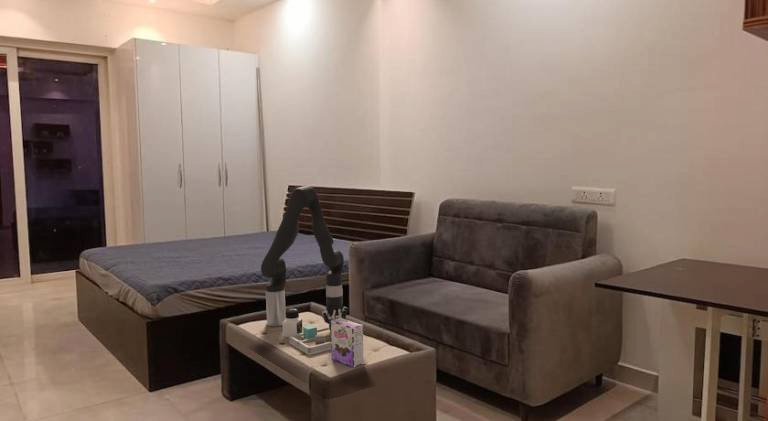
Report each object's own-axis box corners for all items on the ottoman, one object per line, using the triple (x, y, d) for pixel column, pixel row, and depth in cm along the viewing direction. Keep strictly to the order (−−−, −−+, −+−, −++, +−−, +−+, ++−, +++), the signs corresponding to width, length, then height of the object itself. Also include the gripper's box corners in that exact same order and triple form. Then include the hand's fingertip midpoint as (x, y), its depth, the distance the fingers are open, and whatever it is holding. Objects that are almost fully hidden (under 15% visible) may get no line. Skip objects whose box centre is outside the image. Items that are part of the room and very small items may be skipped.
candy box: (330, 359, 226) (329, 320, 224) (341, 355, 230) (340, 317, 228) (353, 368, 216) (352, 327, 214) (364, 364, 220) (363, 324, 218)
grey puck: (314, 342, 240) (313, 335, 239) (321, 340, 242) (321, 333, 241) (318, 344, 237) (317, 337, 236) (325, 342, 239) (325, 336, 239)
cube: (303, 336, 247) (303, 326, 247) (312, 334, 250) (312, 324, 249) (308, 339, 244) (307, 329, 243) (317, 337, 246) (316, 327, 246)
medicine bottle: (297, 338, 252) (296, 312, 251) (282, 337, 253) (281, 311, 252) (302, 332, 259) (301, 308, 258) (288, 332, 260) (287, 307, 259)
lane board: (288, 342, 246) (288, 336, 246) (327, 333, 258) (327, 327, 257) (308, 355, 231) (308, 348, 231) (349, 344, 242) (349, 337, 242)
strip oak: (301, 338, 248) (300, 325, 247) (335, 330, 258) (335, 317, 257) (307, 342, 243) (307, 329, 242) (342, 334, 253) (342, 321, 252)
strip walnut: (302, 346, 238) (302, 332, 238) (338, 337, 249) (338, 324, 248) (309, 350, 233) (309, 336, 232) (346, 341, 244) (345, 327, 243)
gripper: (343, 290, 259) (344, 325, 261) (316, 295, 251) (317, 331, 253) (351, 293, 253) (352, 329, 255) (324, 298, 245) (326, 336, 247)
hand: (335, 330), depth 254 cm, fingers closed on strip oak, 3 cm apart
